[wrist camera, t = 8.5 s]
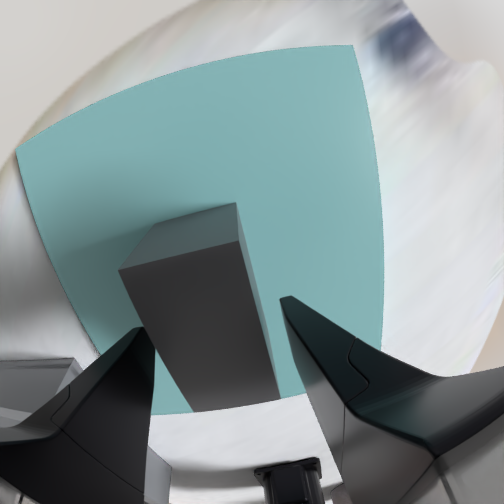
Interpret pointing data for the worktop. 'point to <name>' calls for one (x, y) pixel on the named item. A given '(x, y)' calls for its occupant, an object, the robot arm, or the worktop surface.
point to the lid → (217, 218)
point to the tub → (46, 387)
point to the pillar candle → (340, 495)
